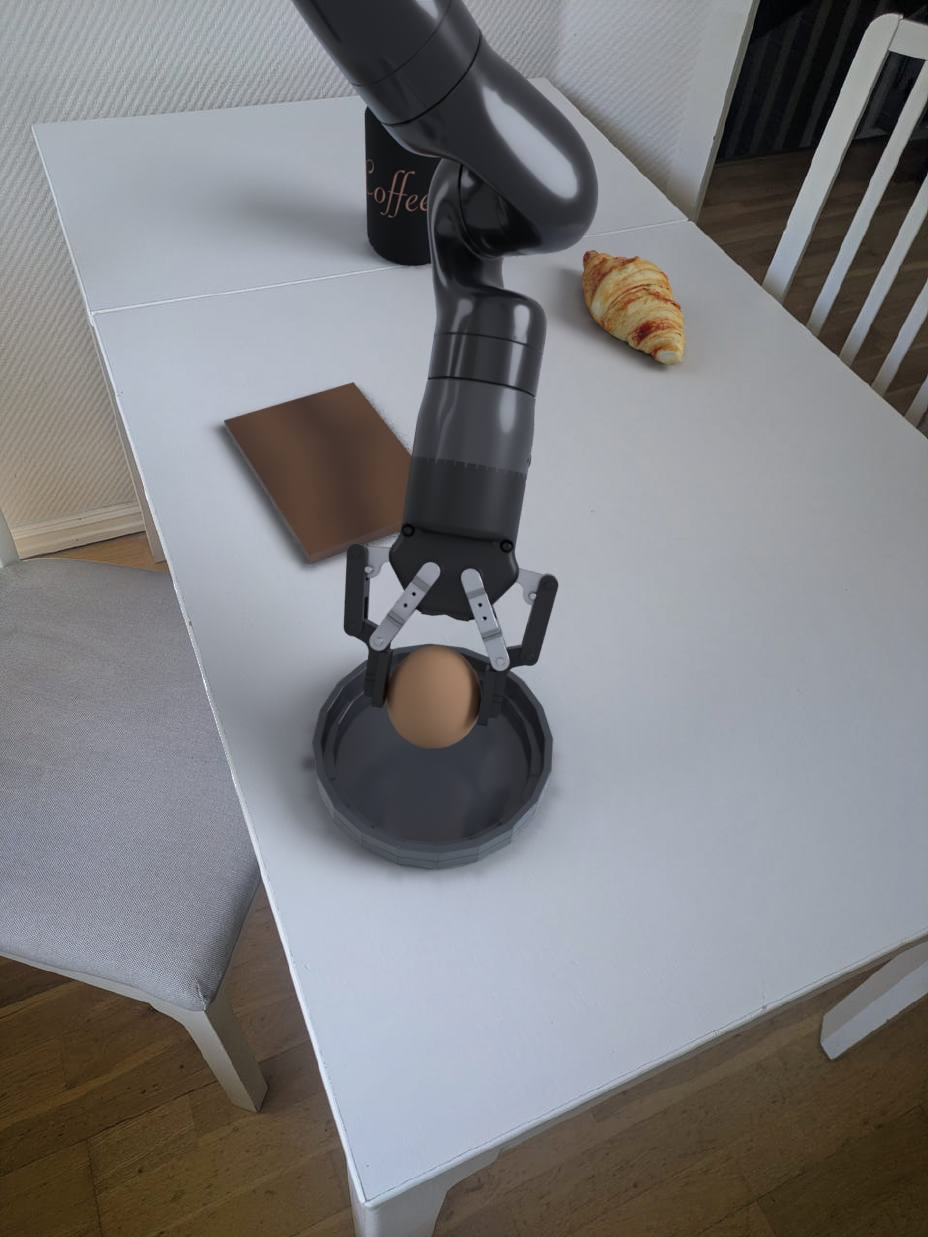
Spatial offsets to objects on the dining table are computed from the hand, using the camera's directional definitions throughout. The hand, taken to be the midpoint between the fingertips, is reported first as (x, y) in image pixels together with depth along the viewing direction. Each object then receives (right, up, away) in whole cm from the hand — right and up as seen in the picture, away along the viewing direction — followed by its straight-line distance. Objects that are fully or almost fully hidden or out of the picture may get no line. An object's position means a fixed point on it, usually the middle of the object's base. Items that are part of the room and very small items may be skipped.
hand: (430, 713), depth 60 cm
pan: (0, -4, +8) cm, 9 cm away
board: (-10, +20, +27) cm, 35 cm away
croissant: (+21, +41, +46) cm, 65 cm away
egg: (0, -2, +5) cm, 5 cm away
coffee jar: (-5, +53, +53) cm, 75 cm away
